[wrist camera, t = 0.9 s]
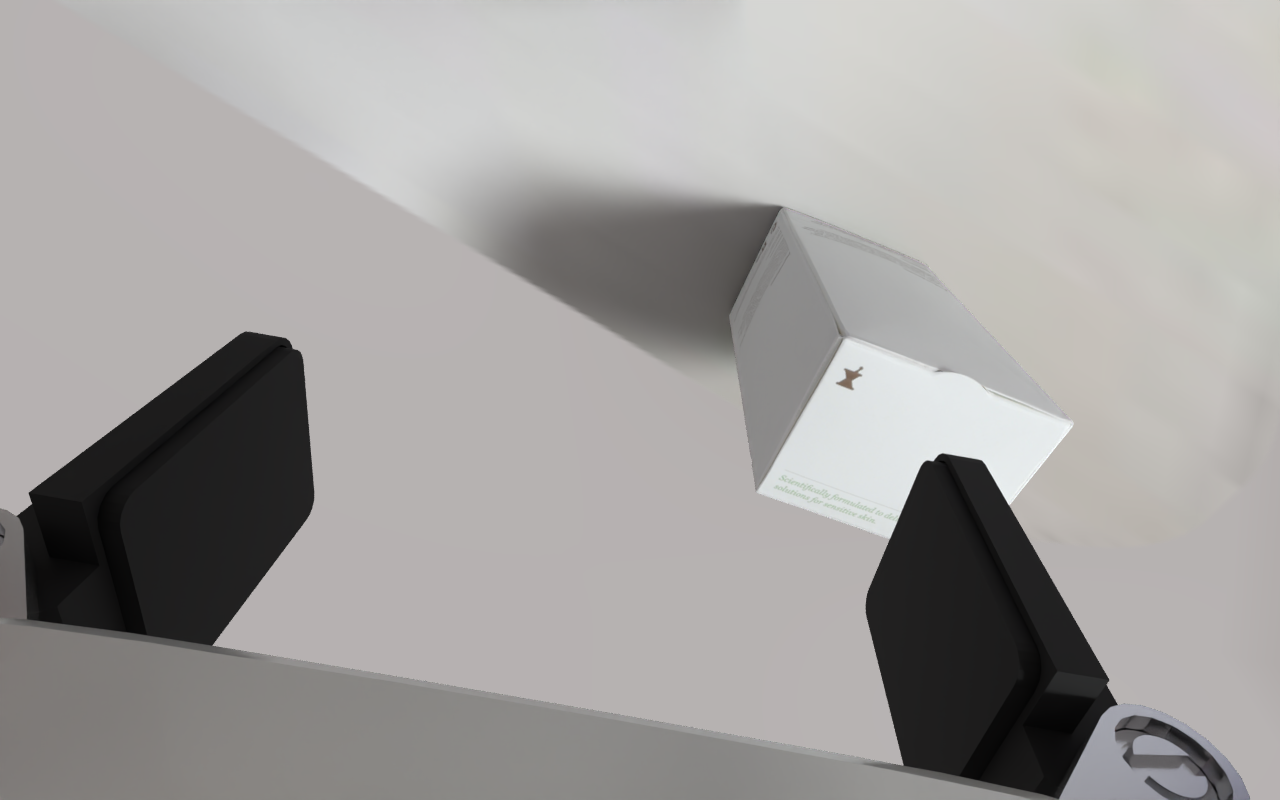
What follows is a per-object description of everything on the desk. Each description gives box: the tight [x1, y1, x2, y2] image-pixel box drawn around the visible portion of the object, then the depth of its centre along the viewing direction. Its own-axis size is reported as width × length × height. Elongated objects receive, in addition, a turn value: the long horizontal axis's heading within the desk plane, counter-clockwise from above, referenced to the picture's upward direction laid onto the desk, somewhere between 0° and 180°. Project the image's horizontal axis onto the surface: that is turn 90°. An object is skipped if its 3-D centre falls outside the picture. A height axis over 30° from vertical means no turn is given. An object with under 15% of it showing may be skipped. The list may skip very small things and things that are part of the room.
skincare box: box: [729, 207, 1073, 539], centre depth 30 cm, size 8×7×16 cm
